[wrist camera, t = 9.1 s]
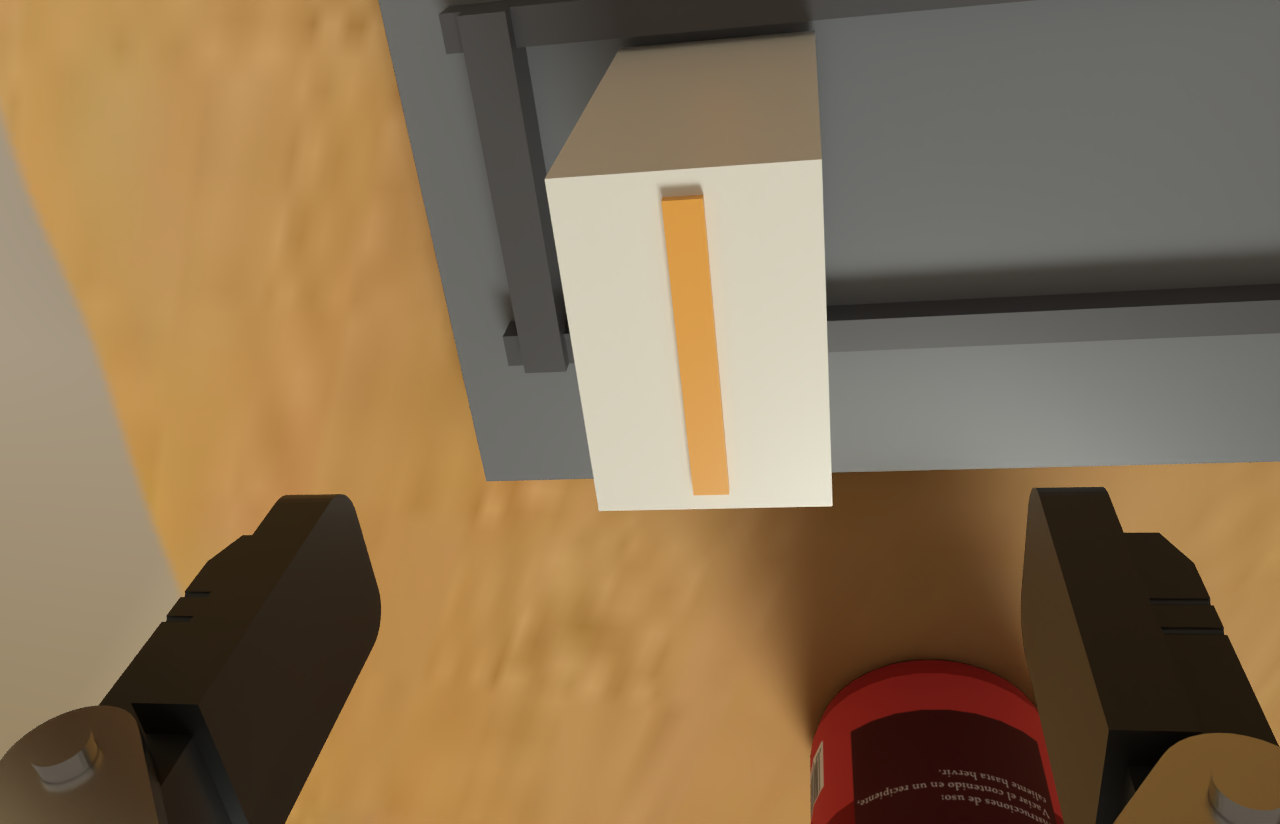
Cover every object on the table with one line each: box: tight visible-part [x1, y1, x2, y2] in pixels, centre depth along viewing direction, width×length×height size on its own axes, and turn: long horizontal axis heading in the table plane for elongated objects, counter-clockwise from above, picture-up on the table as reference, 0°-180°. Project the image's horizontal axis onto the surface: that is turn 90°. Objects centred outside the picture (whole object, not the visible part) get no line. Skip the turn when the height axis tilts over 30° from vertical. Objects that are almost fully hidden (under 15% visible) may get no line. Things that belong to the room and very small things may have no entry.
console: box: [379, 0, 1280, 481], centre depth 24 cm, size 22×16×3 cm
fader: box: [545, 31, 833, 511], centre depth 21 cm, size 4×6×8 cm, turn 7°
